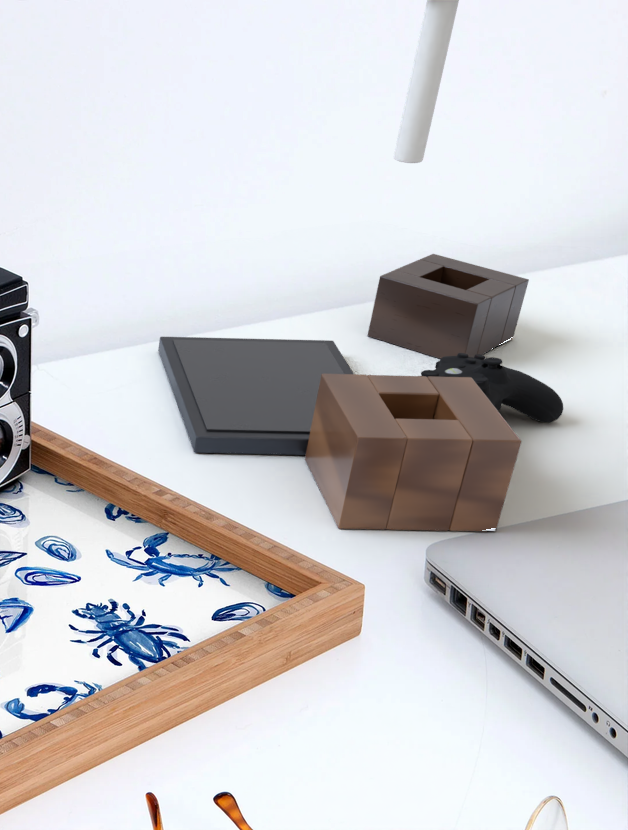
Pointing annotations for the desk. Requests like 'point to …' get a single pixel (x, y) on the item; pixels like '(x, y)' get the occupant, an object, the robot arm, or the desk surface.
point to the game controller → (503, 385)
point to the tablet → (248, 390)
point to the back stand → (446, 307)
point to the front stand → (410, 453)
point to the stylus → (425, 80)
